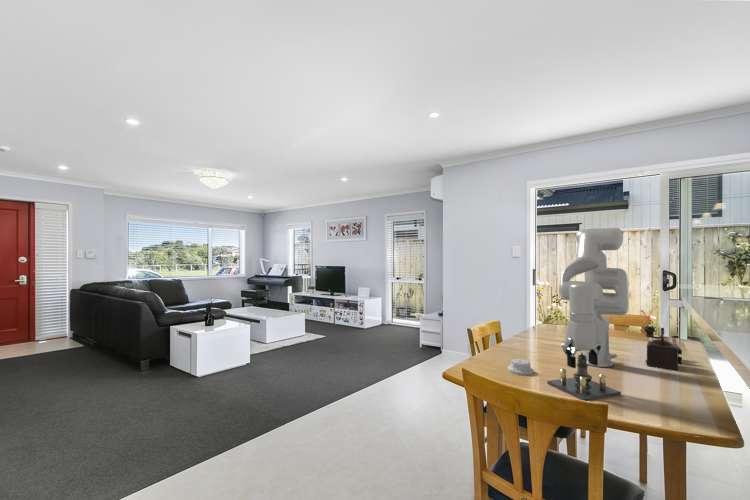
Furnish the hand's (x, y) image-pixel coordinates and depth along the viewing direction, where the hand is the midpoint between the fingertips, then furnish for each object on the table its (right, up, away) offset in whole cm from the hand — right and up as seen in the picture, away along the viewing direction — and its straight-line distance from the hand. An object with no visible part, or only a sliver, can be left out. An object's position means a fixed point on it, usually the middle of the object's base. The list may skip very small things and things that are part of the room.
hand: (582, 365), depth 127 cm
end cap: (+60, -9, +35) cm, 70 cm away
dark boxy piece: (+49, -9, +25) cm, 55 cm away
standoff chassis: (0, -8, 0) cm, 8 cm away
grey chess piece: (0, -7, 0) cm, 7 cm away
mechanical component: (-14, -9, +20) cm, 26 cm away
